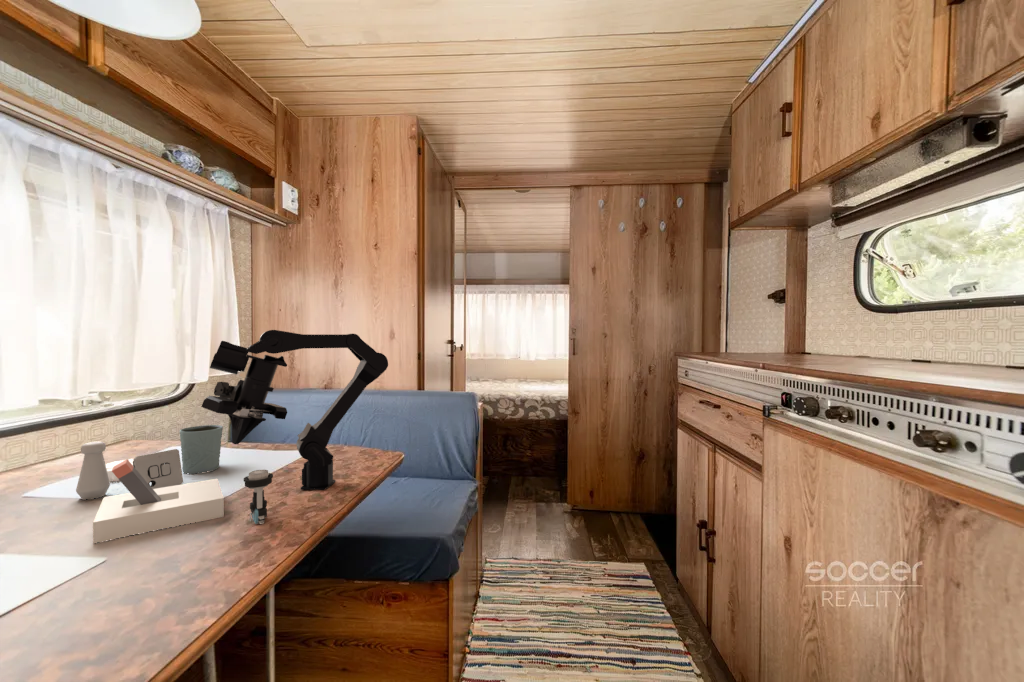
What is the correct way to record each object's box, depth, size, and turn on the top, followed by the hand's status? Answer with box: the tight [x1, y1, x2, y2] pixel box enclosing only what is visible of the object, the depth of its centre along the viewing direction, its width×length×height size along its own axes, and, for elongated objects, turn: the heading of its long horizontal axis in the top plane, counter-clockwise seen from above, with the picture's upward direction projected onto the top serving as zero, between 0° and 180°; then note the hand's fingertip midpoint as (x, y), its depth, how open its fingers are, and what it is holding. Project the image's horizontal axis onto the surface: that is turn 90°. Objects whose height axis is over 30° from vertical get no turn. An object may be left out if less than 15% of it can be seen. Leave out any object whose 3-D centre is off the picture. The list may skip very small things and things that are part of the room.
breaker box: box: [92, 478, 225, 545], centre depth 91 cm, size 20×16×4 cm
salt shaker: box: [75, 440, 111, 501], centre depth 102 cm, size 6×6×13 cm
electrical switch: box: [132, 448, 184, 489], centre depth 109 cm, size 9×5×9 cm, turn 152°
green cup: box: [179, 424, 224, 475], centre depth 124 cm, size 10×10×12 cm
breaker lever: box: [112, 458, 161, 505], centre depth 89 cm, size 2×4×11 cm, turn 39°
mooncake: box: [105, 458, 134, 482], centre depth 119 cm, size 12×12×4 cm
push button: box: [243, 469, 274, 525], centre depth 89 cm, size 7×5×10 cm
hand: (235, 443), depth 101 cm, fingers closed
